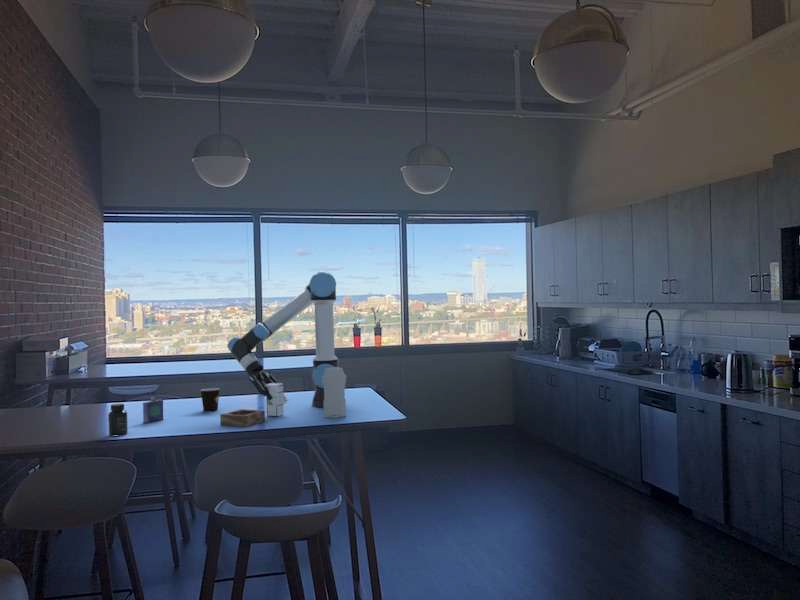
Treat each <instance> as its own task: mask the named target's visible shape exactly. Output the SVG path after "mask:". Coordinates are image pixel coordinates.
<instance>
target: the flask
mask: <svg viewBox="0 0 800 600" xmlns="http://www.w3.org/2000/svg"><path fill="white" fill-rule="evenodd" d="M142 414H143V417H142V418H143V421H142V422H143V424H149V423H148V422H150V423H154V422H153V421H155V422H159V421H158V420H160V421H163V420H164V400H163V399H159V398H156V399H155V397H154V396H151V397H150V400H149V401H144V402H143V403H142Z"/></svg>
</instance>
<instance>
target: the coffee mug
mask: <svg viewBox="0 0 800 600" xmlns="http://www.w3.org/2000/svg"><path fill="white" fill-rule="evenodd" d="M200 394H201V401H202V408H203V412H205V411H212V412H216V410H217V411H218V410H219V399H220V388H218V387H211V388H202V389H200Z"/></svg>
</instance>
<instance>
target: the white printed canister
mask: <svg viewBox="0 0 800 600" xmlns="http://www.w3.org/2000/svg"><path fill="white" fill-rule="evenodd" d="M266 387H267V388H268V391H269V392H270V391H271V392H272V394H273V395H274V396H275V398H276V399H277V400H278V401H279V403H278V404H277V405H276V406H274V405H273V404H272V402H271V401H270V400H269V399H268V398H267V396H265V398H266V399H265V400H266V416H267V417H272V416H279V417H281V416H280V415H282V416H284V415H285V413H284V412H285V411H284V409H285V407H284V403H283V393H284V383H282V382H279V383H269V384H267V383H266ZM283 414H284V415H283Z"/></svg>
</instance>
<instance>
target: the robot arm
mask: <svg viewBox="0 0 800 600" xmlns="http://www.w3.org/2000/svg"><path fill="white" fill-rule="evenodd" d="M336 289H337V281H336V279H335V277H334V276H333V275H332V274H331V272H328V271H318V272H316V273H314V274H313V275H312V276H311V278H310V279H309V283H308V284H307V285H306V286H305V288H304V290H303V291H301V292H300V293H299V294H298V295H297V296H295V297H294V298H292V299H291V300H290V301H289V302H287V303H286V304H285V305H283V306H282V307H281V308H280V309H278V310H277V311H275V312H274V313H273V314H271V316H269V317H267V318H266V319H265V320H264V321H263V322H258V323H256V324H255V325H254V326H253V327H252V328H251V329H250V330H249V331H248V332H247V333H245V334H244V336H243V335H242V337H240V336H235V337H233V338H231V339H230V340H229V341H228V343H227V346H226V347H227V349H228V350H229V351H230V352H229V353H230V354H231V355H232V356H233V357H234V358H235V359H236V361H237V362H238V364H239V365H240V366H241V368H243V370H245V372H246V373H247V375H248V376H249V378H248V380H249V381H250V382H251V383H252V385H253V386H254V387H255V389H256V390H257V392H258V393H259V395H261V396H263V397H265V398H266V396H267V398H268V399H269V400H270V401H271V402H272V404H273V405H274V406H276V405H277V404H278V403H279V401H278V400H277V399H276V398H275V396H274V395H273V394H272V392H271V391H270V392H269V391H268V388H267V387H266V385H267V384H269V383H280V381H278V380H277V379H276V377H275V376H274V375H273V374H272V372H271V371H268V372H267V371H265V370H264V365H263V364H262V363H261V361H259V359H258V357H256V355H255V354H254V352H252V351H253V350H254V349H255V348H257V346H258V345H260V344H261V343H263V342H266V340H268V339H269V338H270V337H271V336H272V335H274V334H275V333H277V331H279V330H280V329H281V328H283V326H285V325H287V324H288V323H289V322H290V321H292V320H293V319H295V318H296V317H297V316H298V315H300V314H302V312H304V311H305V310H306V309H308V308H309V307H310V306H312V304H313V305H314V330H315V331H314V332H315V334H314V335H315V356H314V357H313V359H312V369H313V371H312V380H313V382H314V385H315V391H314V395H313V397H312V403H311V404H312V405H311V406H313V407H316V408H324V403H323V402H324V398H325V397H324V385H323V384H322V376H323V375H324V373H325V369H328V368H332V367H337V368H340V360H339V358H338V357H337V356H336V355H335V330H334V303H335V302H336V300H337V291H336ZM288 401H289V398H288V397H287V396H286V395H285V393H284V392H283V405H285V404H287V402H288Z"/></svg>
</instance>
